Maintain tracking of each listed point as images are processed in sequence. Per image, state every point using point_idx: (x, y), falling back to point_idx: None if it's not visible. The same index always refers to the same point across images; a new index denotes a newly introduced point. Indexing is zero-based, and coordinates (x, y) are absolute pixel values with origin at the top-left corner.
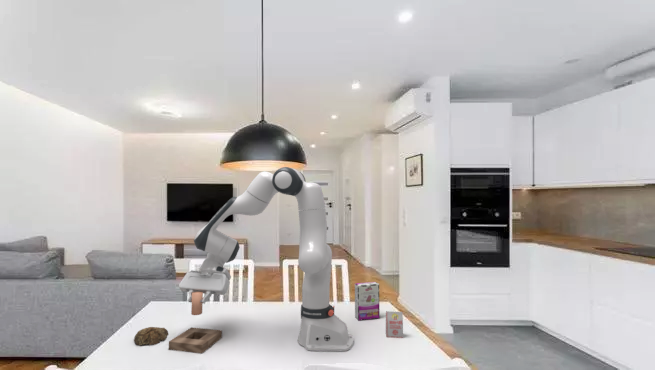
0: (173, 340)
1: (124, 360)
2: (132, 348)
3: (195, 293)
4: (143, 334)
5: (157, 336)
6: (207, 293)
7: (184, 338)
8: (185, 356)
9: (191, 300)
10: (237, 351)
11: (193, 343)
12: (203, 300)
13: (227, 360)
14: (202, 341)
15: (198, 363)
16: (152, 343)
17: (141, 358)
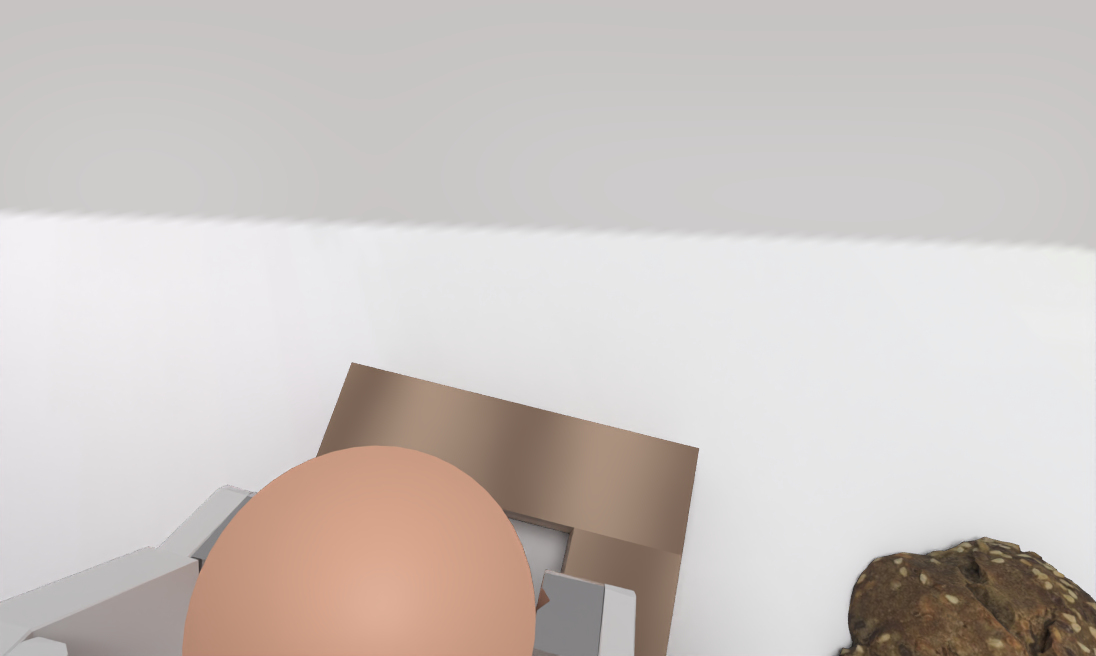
0: (665, 470)
1: (914, 293)
2: (1011, 493)
3: (406, 551)
4: (1062, 610)
5: (913, 647)
6: (24, 630)
7: (575, 519)
8: (489, 340)
9: (540, 590)
10: (69, 414)
11: (444, 400)
12: (216, 495)
13: (150, 271)
14: (368, 440)
15: (358, 237)
16: (889, 560)
17: (811, 318)
